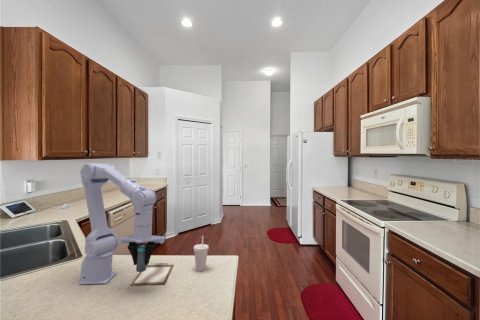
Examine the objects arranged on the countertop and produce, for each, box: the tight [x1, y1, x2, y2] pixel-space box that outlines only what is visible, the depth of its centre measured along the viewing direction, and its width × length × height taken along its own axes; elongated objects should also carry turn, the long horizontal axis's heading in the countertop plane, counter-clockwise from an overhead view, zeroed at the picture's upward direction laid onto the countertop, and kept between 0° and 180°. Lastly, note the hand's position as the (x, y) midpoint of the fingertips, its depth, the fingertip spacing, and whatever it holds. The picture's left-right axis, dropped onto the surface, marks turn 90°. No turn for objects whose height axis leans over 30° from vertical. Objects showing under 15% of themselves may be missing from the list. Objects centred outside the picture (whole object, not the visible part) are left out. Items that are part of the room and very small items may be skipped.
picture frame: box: [130, 262, 174, 287], centre depth 88 cm, size 12×16×1 cm
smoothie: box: [193, 235, 210, 273], centre depth 93 cm, size 6×6×14 cm
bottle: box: [135, 244, 146, 273], centre depth 77 cm, size 3×3×8 cm
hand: (141, 263), depth 77 cm, fingers closed on bottle, 3 cm apart
